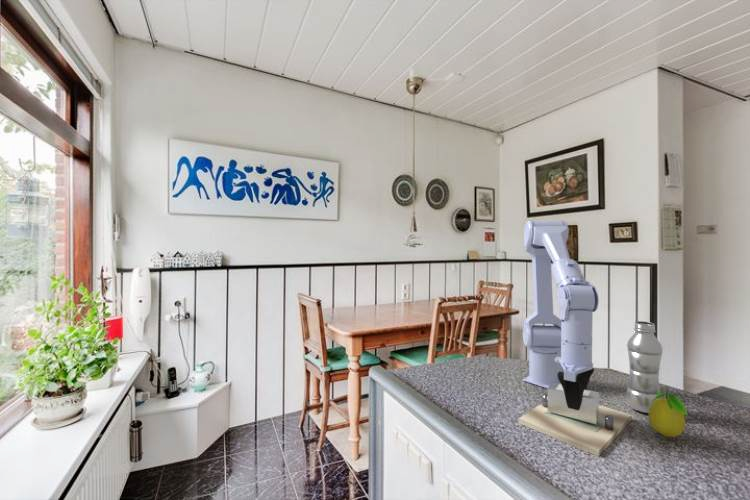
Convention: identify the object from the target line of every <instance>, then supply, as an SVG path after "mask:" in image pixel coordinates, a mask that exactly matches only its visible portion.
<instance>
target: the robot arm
mask: <svg viewBox="0 0 750 500" xmlns="http://www.w3.org/2000/svg"><path fill="white" fill-rule="evenodd" d="M569 232H570V231H569V225H568V223H567V222H566V221H565V220H563V219H562V220H544V221H543V220H541V221H540V220H539V221H538V220H537V221H536V220H534V221H533V220H528V221H527V222H526V223H525V225H524V229H523V244H524V245H523V246H524V251H525V252H527V253H528V254H529V255H530V257H531V267H532V268H531V269H532V289H533V290H532V292H533V312H532V314H530V315H528V316H527V317H526V318H525V319H524V320H523V328H522V341H523V344H524V346H525V347H526V348H527V349H529V353H528V354H529V358H528V361H529V363H528V371H529V372H528V376H526V377H523V378H522V381H523V382H525V383H529V384H532V385H535V386H538V387H542V388H546V389H548V387H549V386H550V385H551V383H552V382H554V383H559V384H561V385H562V387H563V390H564V394H565V398H566V403H567V406H568V408H571V409H574V410H579V409H580V406H581V402H582V397H583V392H584V389H586V390H588V384H589V383H590V378H591V376H592V375H593V373H594V372H595V369H594V363H593V313H594V312H596V311H597V309H598V308H599V302H600V299H599V298H600V297H599V293H598V290H597V288H596V286H595V285H594V284H593V283H591V282H590V281H587V280H586V279H585V277H584V274H583V272H582V270H581V267H580V266H579V263H578V262H577V261H576V260H574V259H573V258H570V254H569V250H568V247H567V241H568V238H569ZM552 263H553V264H552ZM552 277H553V279H554V283H555V285H556V287H557V293H556V294H557V295H556V301H557V306H558V315H559V316H556V314H554V304H553V303H554V300H553V281H552V280H553V279H552Z"/></svg>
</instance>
